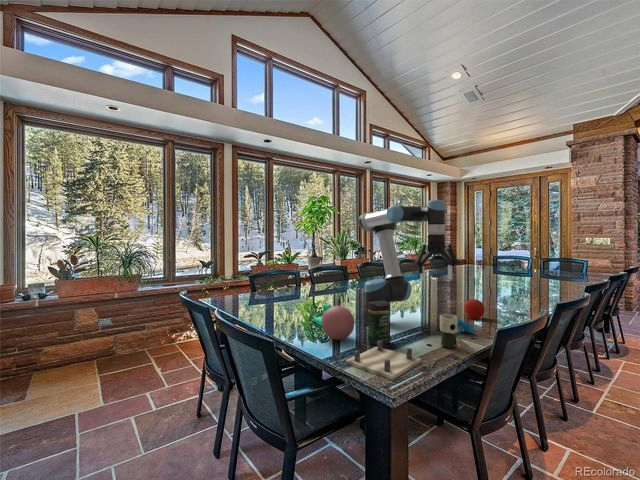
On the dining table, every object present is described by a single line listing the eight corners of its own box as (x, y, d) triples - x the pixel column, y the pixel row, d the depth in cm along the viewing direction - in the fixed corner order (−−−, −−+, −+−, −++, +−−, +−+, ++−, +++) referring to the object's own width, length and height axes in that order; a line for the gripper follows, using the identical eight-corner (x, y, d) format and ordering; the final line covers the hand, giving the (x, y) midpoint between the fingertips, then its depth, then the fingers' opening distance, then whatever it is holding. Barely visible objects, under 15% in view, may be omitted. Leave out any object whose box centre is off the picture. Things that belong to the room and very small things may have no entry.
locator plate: (345, 363, 118) (345, 350, 118) (376, 349, 132) (376, 338, 132) (392, 379, 104) (392, 365, 104) (421, 362, 118) (420, 349, 118)
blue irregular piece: (478, 332, 148) (463, 317, 147) (471, 342, 146) (456, 327, 146) (464, 328, 159) (450, 315, 158) (457, 338, 157) (443, 324, 157)
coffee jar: (375, 347, 135) (374, 303, 135) (365, 341, 142) (364, 300, 142) (393, 343, 139) (393, 301, 139) (382, 338, 146) (382, 298, 146)
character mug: (449, 352, 127) (449, 320, 127) (434, 347, 133) (433, 316, 133) (463, 346, 134) (463, 315, 134) (448, 341, 140) (448, 312, 140)
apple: (488, 320, 173) (487, 299, 173) (469, 320, 173) (469, 300, 173) (479, 316, 183) (478, 296, 183) (461, 316, 183) (461, 296, 183)
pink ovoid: (338, 329, 161) (338, 299, 160) (361, 341, 143) (360, 307, 143) (311, 334, 154) (311, 303, 153) (331, 347, 136) (331, 311, 136)
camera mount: (312, 322, 176) (312, 304, 176) (323, 320, 180) (323, 302, 180) (325, 327, 166) (324, 308, 166) (336, 325, 170) (336, 306, 170)
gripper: (413, 234, 139) (414, 282, 140) (466, 233, 142) (466, 280, 143) (407, 234, 147) (407, 279, 147) (456, 233, 150) (456, 277, 150)
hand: (436, 280), depth 145 cm, fingers open, 13 cm apart
